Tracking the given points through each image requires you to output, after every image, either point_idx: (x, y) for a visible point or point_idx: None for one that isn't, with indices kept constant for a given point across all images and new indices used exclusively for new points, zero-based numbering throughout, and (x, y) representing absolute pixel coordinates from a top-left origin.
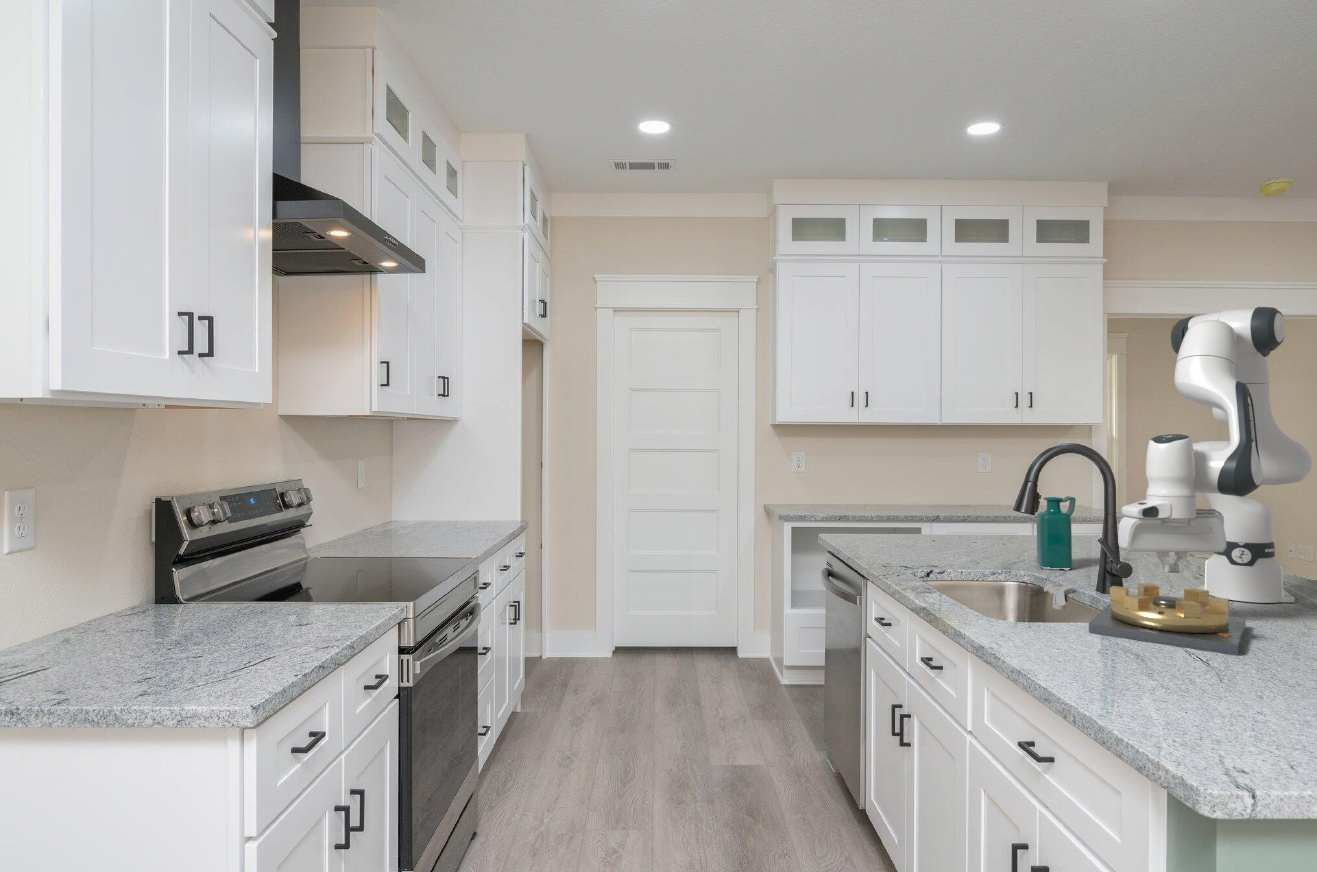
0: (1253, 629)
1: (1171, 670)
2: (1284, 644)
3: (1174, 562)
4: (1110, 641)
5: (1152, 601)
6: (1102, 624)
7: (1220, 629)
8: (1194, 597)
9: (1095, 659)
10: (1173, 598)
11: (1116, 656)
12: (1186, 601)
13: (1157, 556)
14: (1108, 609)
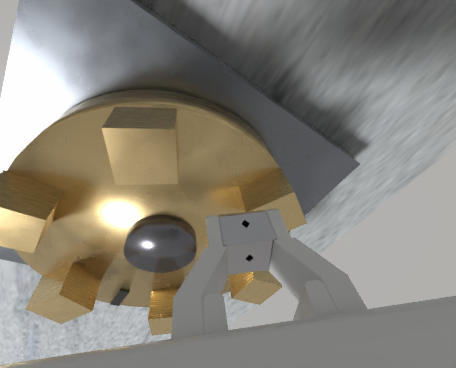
0: (355, 157)
1: (102, 335)
2: (316, 236)
3: (278, 247)
4: (34, 270)
5: (136, 209)
6: (6, 256)
7: None
8: None
9: (12, 330)
10: (184, 240)
11: (41, 318)
12: (169, 319)
13: (177, 293)
14: (17, 104)
